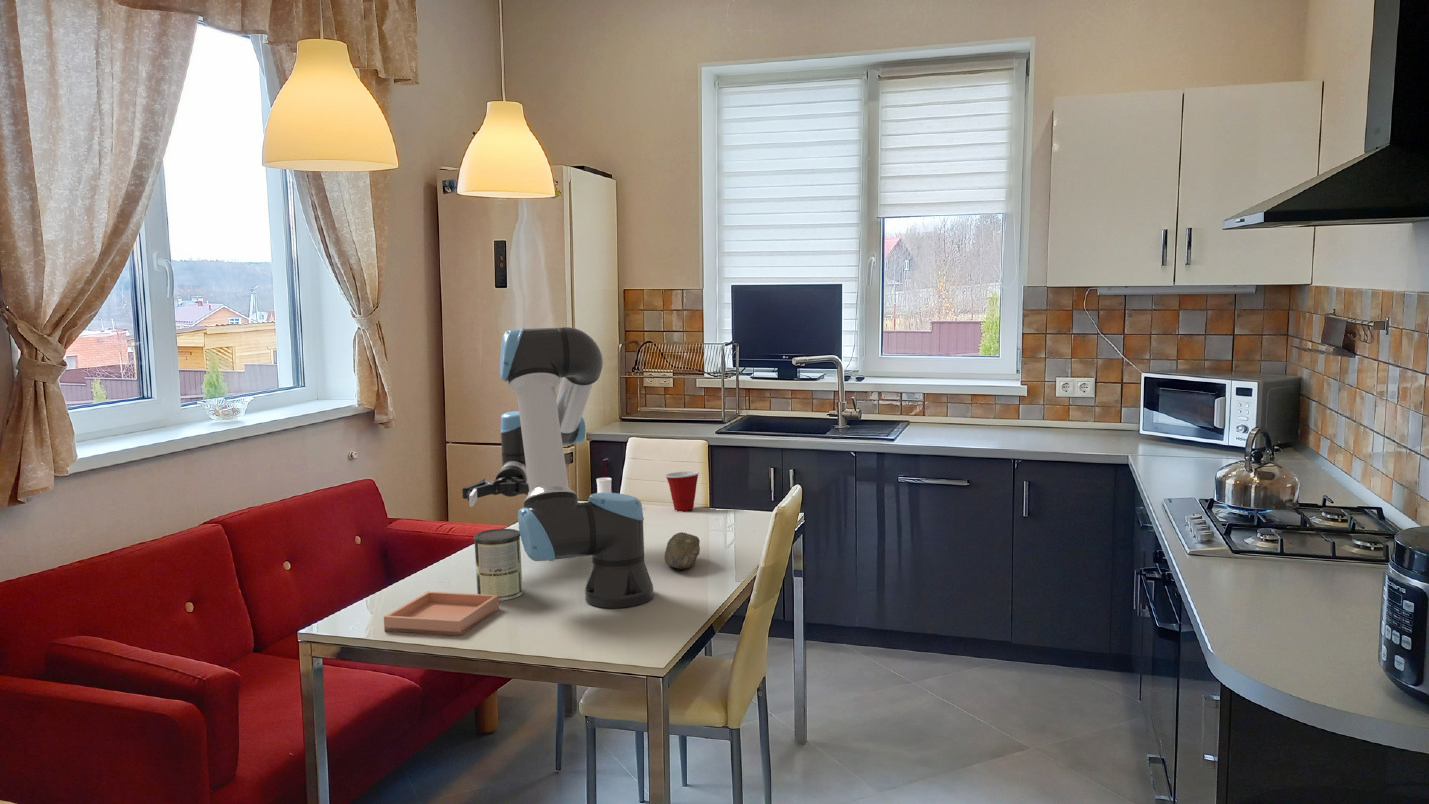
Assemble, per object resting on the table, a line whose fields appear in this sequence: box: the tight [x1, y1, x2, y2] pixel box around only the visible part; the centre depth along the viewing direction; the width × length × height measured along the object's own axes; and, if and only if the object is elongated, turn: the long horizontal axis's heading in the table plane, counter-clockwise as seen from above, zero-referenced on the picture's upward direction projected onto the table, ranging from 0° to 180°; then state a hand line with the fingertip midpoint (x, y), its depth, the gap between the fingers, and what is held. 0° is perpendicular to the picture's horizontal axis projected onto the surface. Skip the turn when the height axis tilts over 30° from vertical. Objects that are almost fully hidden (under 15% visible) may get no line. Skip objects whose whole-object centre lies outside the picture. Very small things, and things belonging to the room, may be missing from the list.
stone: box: [664, 531, 701, 570], centre depth 235 cm, size 17×9×8 cm, turn 178°
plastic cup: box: [664, 470, 700, 512], centre depth 297 cm, size 11×11×12 cm
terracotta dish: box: [383, 591, 500, 637], centre depth 199 cm, size 17×17×3 cm
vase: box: [595, 477, 613, 493], centre depth 301 cm, size 8×8×10 cm
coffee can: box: [473, 528, 524, 602], centre depth 215 cm, size 10×10×14 cm
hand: (500, 500), depth 222 cm, fingers open, 13 cm apart
